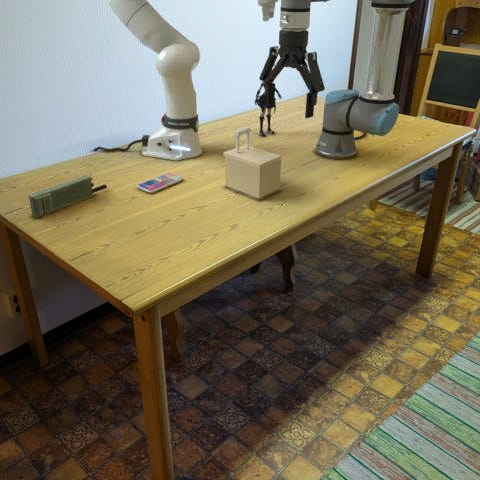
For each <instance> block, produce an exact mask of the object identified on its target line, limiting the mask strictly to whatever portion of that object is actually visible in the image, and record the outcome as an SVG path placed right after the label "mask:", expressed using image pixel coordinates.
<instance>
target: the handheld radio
mask: <svg viewBox="0 0 480 480" xmlns="http://www.w3.org/2000/svg"><path fill="white" fill-rule="evenodd" d="M92 176H93V174H91V173H88V174H85V175H83V176H79V177H76V178H74V179H71V180H68V181H65V182H62V183H59V184H57V185H54V186H50V187H47V188H44V189H42V190H39V191H37V192H33V193H30V194H28V200H29V206H30V210H31V216H32V217H34V218H35V219H36V218H39V217H42V216H45V215H47V214H50V213H53V212H56V211H58V210H60V209H63V208H66V207H68V206H72V205H73V204H76V203H80V202H82V201H84V200H87V199H90V198H93V196H95V195H96V194H95V193H97V192H100V191H102V190H106V189H107V188H108V186H107V184H102V185H99V186H96V187H94V186H95V183H94V182H92V181H93V180H94V178H93V177H92ZM93 187H94V188H93Z"/></svg>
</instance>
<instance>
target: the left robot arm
mask: <svg viewBox="0 0 480 480" xmlns="http://www.w3.org/2000/svg"><path fill="white" fill-rule="evenodd" d="M279 1H280V0H257V5H258V6H260V7H261V13H262V22H269V20H270V19H273V18H274V17H275V9H276V3H278V2H279ZM107 2H108V5H109V6H110V9H112V11H113V12H114V14H115V15H116V16H117V18H118V19H119V21H120V22H121V23H122V24H123V25H124V26H125V27H126V28H127V29H128V30H129V31H130V33H131V34H132V35H133V36H134V37H135V38H136V39H137V40H138V41H139V42H140V43H141V44H142V46H144V47H146V48H148V49H150V50H152V51H153V52H154V53H156V54H157V57H156V59H155V67H156V71H157V72H158V74H159V75H160V79H161V83H162V86H163V91H164V98H165V113H163V114H162V116H161V118H160V123H161V125H159V127H157V128H156V129H155V130H154V131H152V132H151V133H150V134H143V135H142V137H141V139H137V140H134V141H131V142H130V143H129V144H128V145H127V147H126V148H123V147H113V148H106V147H103V146H96V147H97V148H96V147H95V148H93V150H92V152H97V151H98V150H102V151H104V152H116V151H121V152H127V151H129V150H130V148H131V147H132V146H133V145H135V144H140V143H141V146H142V147H143V148H142V150H141V155H142V156H145V157H152V158H157V159H164V160H170V161H176V162H178V161H182V160H185V159H190V158H191V159H192V158H196V157H198V156H200V155H202V153H203V149H202V148H203V147H202V145H201V142H200V134H199V128H200V121H199V114H198V103H197V91H196V90H195V87H194V83H193V78H192V77H193V76H192V73H193V71H195V70H196V68H197V67H198V65H199V64H200V59H201V50H200V49H199V46H198V45H197V44H196V43H195V42H193V41H191V40H190V39H189V38H187V36H185V35H184V34H182V32H181V31H179V30H178V29H176V28H175V27H174V26H173V25H171V24H170V23H169V22H168V21H167V20H166V19H165V18H164V17H163V16H162V15H161V14H160V13H159V12H158V11H157V9H155V8H154V6H153V5H151V3H150V2H149V1H148V0H108V1H107Z"/></svg>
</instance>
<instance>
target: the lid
mask: <svg viewBox="0 0 480 480" xmlns="http://www.w3.org/2000/svg"><path fill="white" fill-rule="evenodd" d="M251 129H252V128H251V127H249V126H247V127H243V128H241V129H237V130H235V131H234V136H235V148H232V149H229V150H226V151H223V157H224V158H225V157H228V158H231V159H234V160H237V161H240V162H243V163H246V164H249V165H251V166H254V167H257V168H262V167H265V166H267V165H270V164H272V163H275V162H277V161H280V160H281V161H282V155H280V154H277V153H273V152H270V151H267V150H263V149H260V148H256V147H254V146H250V133H251V132H252V130H251ZM243 135H245V144H244V145H241V146H240V136H243Z"/></svg>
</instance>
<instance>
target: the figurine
mask: <svg viewBox="0 0 480 480" xmlns="http://www.w3.org/2000/svg"><path fill="white" fill-rule="evenodd" d="M275 66H276V63H275V64H274V66H273V67H275ZM272 70H273V69H272ZM272 70H271V71H272ZM272 83H274V81H273V82H272ZM262 88H263V89H264V92H263V93H262V94H261V91H262ZM260 94H261V95H260ZM275 94H277V96H278V98H277V99H279V100H280V101H281V100H282V97H283V96H282V95H281V94H280V92H279V89H277V88H276V87H275ZM266 96H267V95H265V83H264V81H261V83H260V86H259V88H258V89H257V92H256V94H255V100H254V105H255V106H258V107H259V108H260V111H261V112H260V115H259V117H258V119H259V136H261V137H266V133H265V132H264V130H263V127H264V120H265V117H266V119H267V129H266V131H267V134H271V135H274V134H275V131H274V130H272V128H271V118H272V109H273V114H274V115H275V114H276V111H277V102H276V101H277V99H276V98H275V100H274V107H272V108H269V109H267V108H266ZM266 111H267V113H266Z"/></svg>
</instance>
